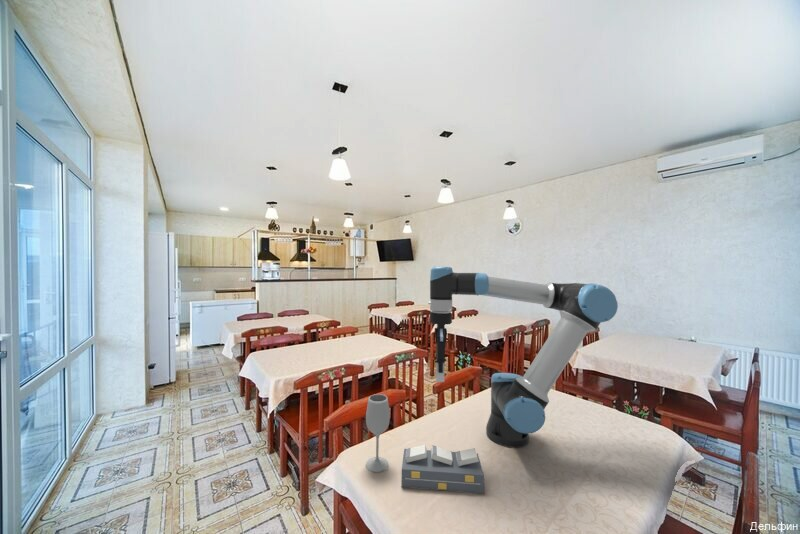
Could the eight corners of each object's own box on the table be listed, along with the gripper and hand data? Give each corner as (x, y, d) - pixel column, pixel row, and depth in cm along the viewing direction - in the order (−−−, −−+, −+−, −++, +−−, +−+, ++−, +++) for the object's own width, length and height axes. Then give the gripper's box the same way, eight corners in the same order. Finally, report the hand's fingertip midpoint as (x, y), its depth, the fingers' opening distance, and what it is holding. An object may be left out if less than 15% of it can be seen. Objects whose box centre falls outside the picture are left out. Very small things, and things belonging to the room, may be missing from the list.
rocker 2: (450, 456, 90) (451, 451, 90) (451, 465, 86) (452, 460, 86) (430, 449, 91) (432, 444, 91) (431, 458, 86) (432, 453, 86)
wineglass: (365, 457, 97) (366, 393, 98) (388, 456, 98) (389, 392, 98) (364, 473, 90) (365, 403, 90) (389, 472, 90) (390, 402, 91)
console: (477, 469, 92) (477, 453, 92) (484, 494, 82) (484, 475, 82) (404, 464, 94) (404, 448, 94) (401, 487, 84) (401, 469, 84)
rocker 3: (476, 452, 89) (474, 447, 90) (478, 461, 85) (477, 456, 85) (457, 456, 90) (455, 451, 90) (458, 466, 86) (457, 460, 86)
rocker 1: (426, 448, 91) (425, 444, 91) (426, 457, 86) (425, 452, 86) (407, 453, 91) (406, 448, 91) (407, 462, 87) (405, 457, 87)
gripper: (429, 309, 108) (428, 374, 107) (430, 313, 95) (429, 387, 94) (450, 309, 107) (449, 375, 107) (453, 314, 94) (453, 389, 94)
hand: (440, 381), depth 101 cm, fingers closed
